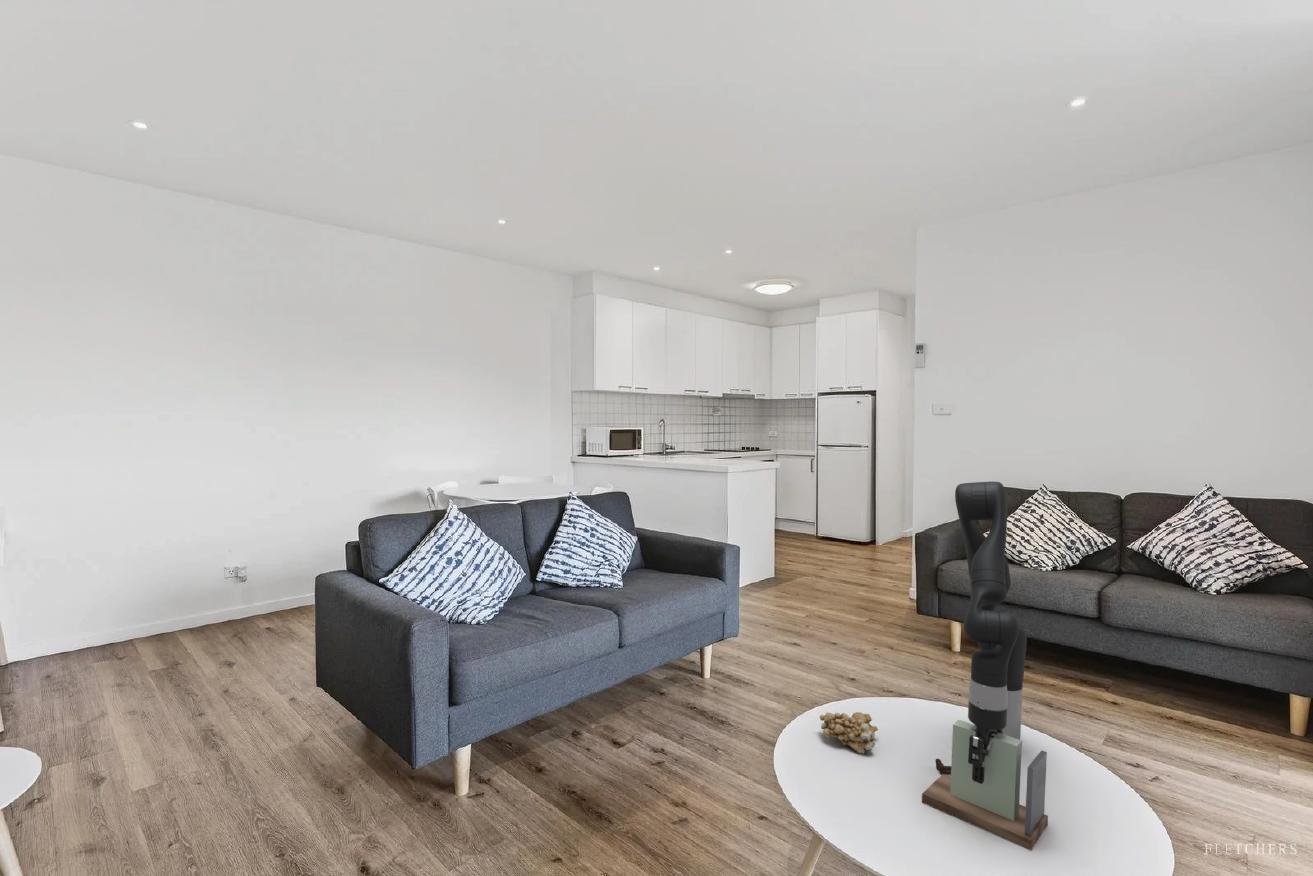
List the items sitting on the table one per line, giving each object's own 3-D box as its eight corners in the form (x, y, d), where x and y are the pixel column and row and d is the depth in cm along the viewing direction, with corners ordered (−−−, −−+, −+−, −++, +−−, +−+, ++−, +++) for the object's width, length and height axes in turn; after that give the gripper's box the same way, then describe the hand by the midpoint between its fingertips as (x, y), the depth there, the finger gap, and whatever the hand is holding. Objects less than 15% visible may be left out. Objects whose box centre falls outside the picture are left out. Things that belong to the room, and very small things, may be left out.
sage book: (955, 788, 147) (958, 719, 146) (1018, 814, 138) (1021, 740, 137) (950, 794, 144) (952, 724, 144) (1013, 821, 135) (1016, 746, 135)
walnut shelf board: (942, 782, 153) (943, 773, 153) (1047, 825, 137) (1047, 815, 137) (921, 802, 144) (922, 793, 144) (1031, 850, 129) (1031, 840, 129)
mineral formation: (872, 760, 162) (813, 742, 168) (876, 745, 174) (820, 729, 180) (876, 727, 163) (817, 711, 169) (880, 714, 175) (824, 700, 181)
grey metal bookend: (1038, 814, 138) (1041, 750, 137) (1044, 816, 137) (1046, 752, 137) (1024, 835, 131) (1027, 767, 130) (1030, 837, 130) (1033, 769, 130)
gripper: (980, 687, 148) (978, 756, 148) (957, 705, 138) (954, 779, 138) (1016, 697, 143) (1013, 769, 143) (995, 717, 133) (992, 794, 133)
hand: (984, 774), depth 141 cm, fingers open, 8 cm apart
